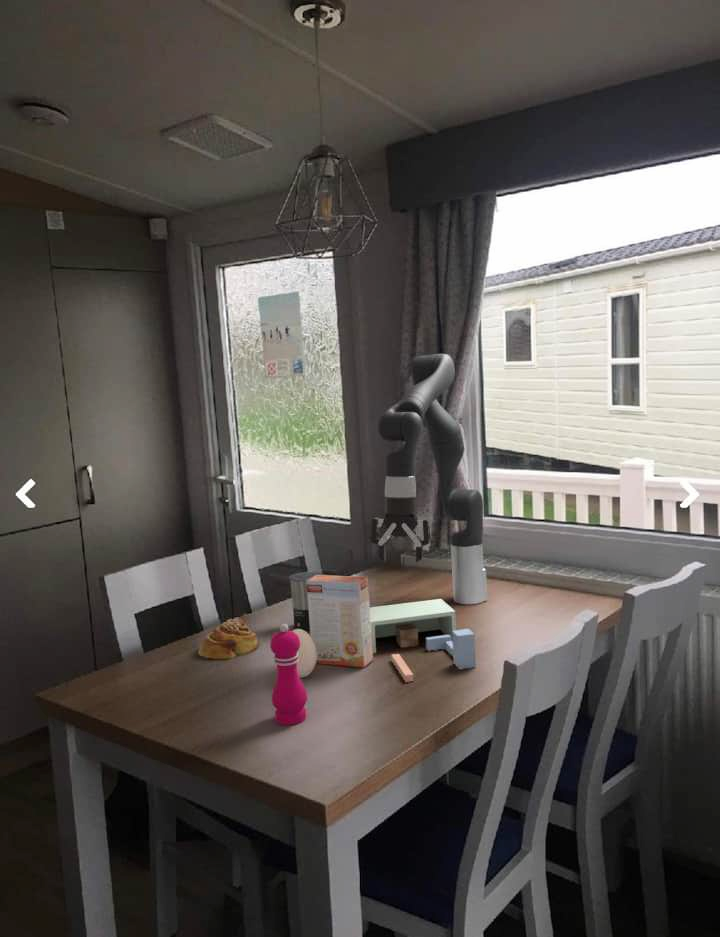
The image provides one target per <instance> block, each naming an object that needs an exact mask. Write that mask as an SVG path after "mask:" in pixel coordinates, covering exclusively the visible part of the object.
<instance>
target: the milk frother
mask: <svg viewBox="0 0 720 937" xmlns="http://www.w3.org/2000/svg"><path fill="white" fill-rule="evenodd" d="M315 575H323V573H322V572H319V571H304V572H298V573H294V574H291V575H289V576H288V579H289V582H290V591H291V600H292V610H293V630H295V629H302V630H304V631H306V632H307V633H310V623H309V610H308V596H307V582H306V581H307V580H308V579H310V578H312V577H314V576H315Z"/></svg>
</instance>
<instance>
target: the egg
mask: <svg viewBox="0 0 720 937" xmlns="http://www.w3.org/2000/svg"><path fill="white" fill-rule="evenodd" d="M291 631H292V632H294V633H296V634H297V635H298V637H299V639H300V648H299V650H298V651H297V653H298V654H299V656H298V658H299V661H298V662H297V673H298V676H299V678H300V679H302V678H305V677H307V676H309V675H310V674H311V673H312V672H313V670H314V669H315V666H316V664H317V663H316V659H317V653H316V647H315V644H314V642H313V640H312V638H311V636H310V633H309V632H306V631H304V630H302V629H295V630H294V629H293V630H291Z"/></svg>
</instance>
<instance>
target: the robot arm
mask: <svg viewBox="0 0 720 937" xmlns="http://www.w3.org/2000/svg"><path fill="white" fill-rule="evenodd" d="M455 370H456V369H455V364H454V361H453V359H452V357H451V356H450V355H449V354H446V353H437V354H436V353H435V354H425V355H420V356H416V357H414V358H412V361H411V364H410V373H411V379H412V382H413V386H411V387H410V388H409V389H408V390H406V392H405V393H404V394H403V395H402V397H401V398H400V400H399V401H398V402H397V403H395V404H393V405H392V406H391V407H389V408H388V409H386V410H385V411H384V412H383V413H382V414H381V416H380V417H379V420H378V423H377V432H378V434H379V437H380V438H381V439H382V440H384V441H387V442H404V445H403V446H402V448H401V449H399V450H395V451H391V452H388V453H387V454H386V457H385V481H384V482H385V484H384V517H383V518H379V517H374V518H373V519H372V520H371V534H370V542H371V543H372V544H376V545H377V546H378V558H379V559H380V560H381V562H385V561H386V560H387V544H386V542H387V541H388V540H389V539H390V537H391V536H392V537H394V538H397V537H402V538H407V537H409V538H410V539H411V540H412V541H413V543H414V544H415V546H416V547H415V563H420V562H421V560H423V558H424V546H427V545H429V544H430V543H431V527H430V519H428V518H425V519H418V518H417V481H416V477H415V476H416V455H417V450H418V445H419V442H420V438H421V436H422V431H423V421H422V419H423V418H424V421H425V426H426V427H425V428H426V430H427V436H428V440H429V445H430V449H431V453H432V456H433V457H432V458H433V460H434V464H435V468H436V472H437V477H438V478H437V479H438V483H439V490H440V491H439V492H440V498H441V504H442V509H443V513H444V515H445V516H446V518H447V519H448V520H450V521H455V522H456V521H459V522H463V521H464V522H466V527H465V528H464V529H462V530H458V531H456V532H453V533H452V534H451V535H450V554H451V569H452V570H451V572H452V573H451V574H452V576H451V577H452V590H453V593H452V594H453V601H454V603H457V604H461V605H475V604H480V603H484V602H487V601H488V586H487V585H488V584H487V583H488V582H487V569H486V568H485V567H484V554H483V552H484V550H483V548H484V547H483V534H484V503H483V496H482V493H481V491H479V490H476V489H464V488H463V489H458V488H457V485H456V478H455V477H456V473H457V470H458V467H459V465H460V463H461V461H462V458H463V456H464V454H465V453H464V452H465V444H464V440H463V436H462V430H461V428H460V425H459V424H458V422H457V421H456V420H455V419H454V417H452V415H451V414H449V413H448V412H447V410H446V409H444V407H442V405H441V404H440V403H439V401H438V400H437V398H439V397H440V396H441V395H442V394H443V393H444V392H445V390H447V389H448V388H449V387H450V386H451V385H452V383H453V382H454V380H455V379H454V378H455V374H456V372H455ZM382 524H383V525H384V527H385V529H387V530H386V531H385V532H384V533H383V535H382V537H381V538H379V531H380V528H381V527H382ZM418 525H419V526H420V528H421V529H422V531H423V534H422V535H423V539H422V538H421V537H420V535H419V533H418V532H417V531H416V530H415V529H416V528H417V527H418Z"/></svg>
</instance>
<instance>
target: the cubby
mask: <svg viewBox="0 0 720 937" xmlns="http://www.w3.org/2000/svg"><path fill="white" fill-rule="evenodd" d="M456 616H457V615H456V610H454V608H452V607H451V606H450V605H449V604H448V603H447V602H445V601H444V600H443V599H442V598H435V599H428V600H421V601H412V602H403V603H395V604H390V605H389V604H388V605H378V606H373V607H372V606H371V607H370V620H371V634H372V649H373V654H376V653H377V646H376V644H377V643H376V642H377V641H376V639H377V638H387V637H391V636H392V637H393V636H396V625H404V624H412V623H413V624H414V625H415V626H416V627H417V628H418V633H422V632H424V633H425V632H431V630H432V631H438V630H440V631H441V632H442V633H443V634H444V633H445V634H444V635H450V636H451V641H453V638H452V631H455V630H457V619H456Z"/></svg>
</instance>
